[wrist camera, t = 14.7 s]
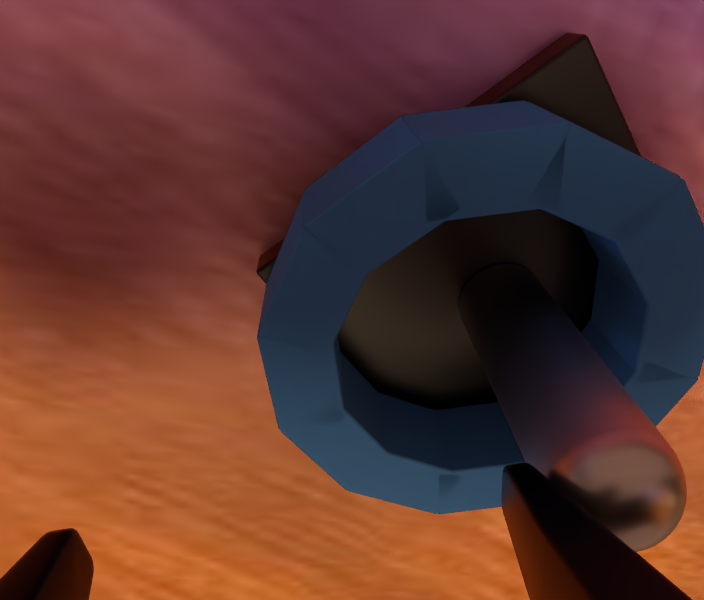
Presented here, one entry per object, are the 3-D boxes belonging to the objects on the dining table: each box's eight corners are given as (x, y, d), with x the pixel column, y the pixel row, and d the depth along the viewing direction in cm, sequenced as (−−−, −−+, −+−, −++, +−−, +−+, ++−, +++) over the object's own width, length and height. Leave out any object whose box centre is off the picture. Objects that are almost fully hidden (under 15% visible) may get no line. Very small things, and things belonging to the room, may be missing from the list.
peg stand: (436, 450, 18) (513, 743, 11) (258, 255, 14) (200, 512, 7) (695, 307, 16) (1004, 558, 9) (568, 30, 12) (935, 74, 5)
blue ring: (409, 493, 17) (422, 560, 15) (188, 276, 13) (164, 328, 11) (708, 331, 15) (771, 385, 13) (553, 0, 11) (611, 1, 9)
